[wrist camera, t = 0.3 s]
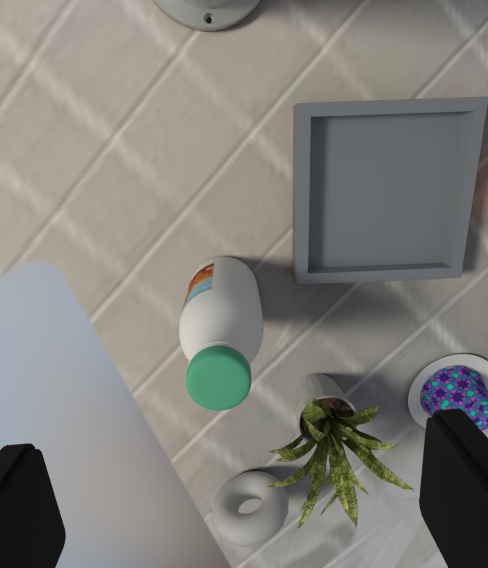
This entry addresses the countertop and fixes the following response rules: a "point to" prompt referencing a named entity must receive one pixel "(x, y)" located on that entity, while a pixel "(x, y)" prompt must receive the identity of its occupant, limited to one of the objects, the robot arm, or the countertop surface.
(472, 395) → the purple dotted hat
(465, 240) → the tray
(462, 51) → the countertop surface
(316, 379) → the house plant
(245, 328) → the milk bottle
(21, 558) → the robot arm
